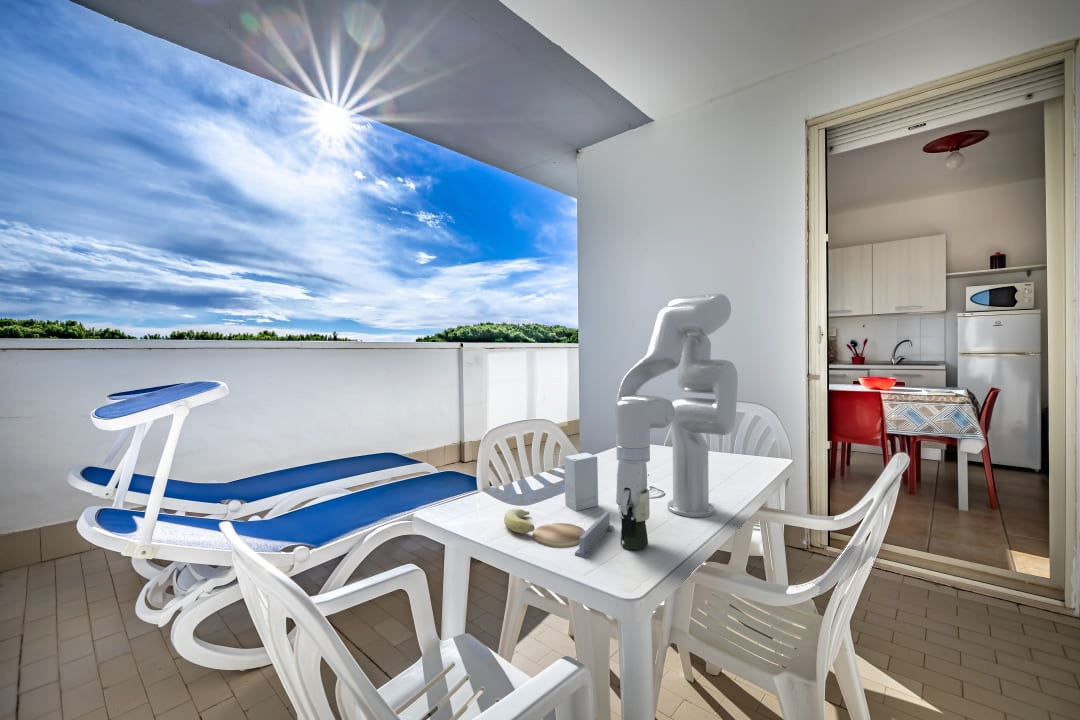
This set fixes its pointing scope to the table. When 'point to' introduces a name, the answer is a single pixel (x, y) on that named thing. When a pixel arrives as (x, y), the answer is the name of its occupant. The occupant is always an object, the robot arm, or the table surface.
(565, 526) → the coaster
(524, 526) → the fruit
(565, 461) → the skincare box
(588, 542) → the grey cabinet handle
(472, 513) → the table surface
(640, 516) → the character mug
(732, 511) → the table surface
